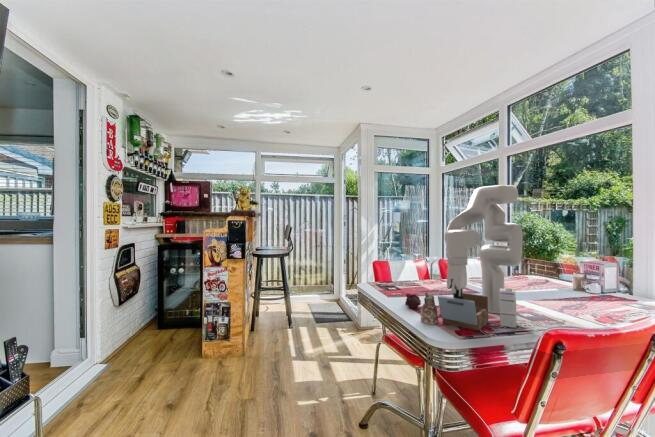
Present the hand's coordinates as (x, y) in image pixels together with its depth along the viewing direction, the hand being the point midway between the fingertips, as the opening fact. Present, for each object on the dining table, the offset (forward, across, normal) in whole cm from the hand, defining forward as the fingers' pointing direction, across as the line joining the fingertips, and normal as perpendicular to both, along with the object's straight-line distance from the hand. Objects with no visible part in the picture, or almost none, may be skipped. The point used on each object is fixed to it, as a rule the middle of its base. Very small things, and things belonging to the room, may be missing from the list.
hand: (458, 305), depth 119 cm
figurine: (+9, +1, -12) cm, 15 cm away
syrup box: (+9, -17, +14) cm, 24 cm away
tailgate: (+6, -1, 0) cm, 6 cm away
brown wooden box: (+9, -8, 0) cm, 12 cm away
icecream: (+9, -13, -27) cm, 31 cm away
